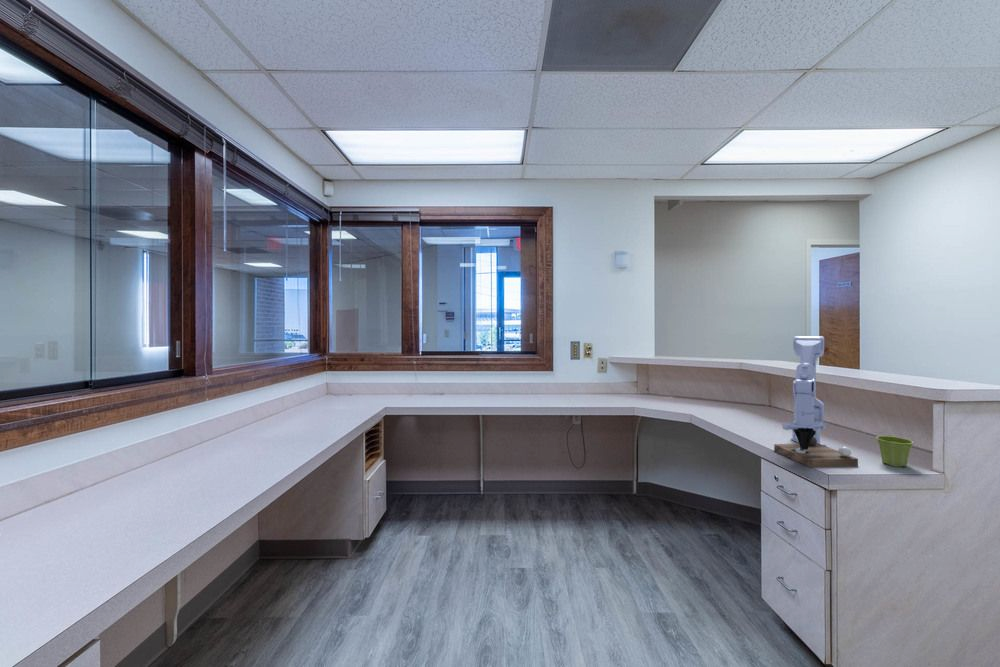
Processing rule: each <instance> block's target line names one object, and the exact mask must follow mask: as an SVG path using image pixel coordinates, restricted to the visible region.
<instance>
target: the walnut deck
mask: <svg viewBox="0 0 1000 667" xmlns="http://www.w3.org/2000/svg"><path fill="white" fill-rule="evenodd" d="M773 446H774V447H773V448H774V449H773V451H774V450H775V451H774V452H776V451H777V453H778V452H779V454H781V453H782V454H781V455H783V454H784V455H783V456H785V455H786V456H785V457H787V456H788V457H787V458H789V457H790V458H789V459H791V460H793V461H795V462H797V463H799V464H802V465H804V466H806V467H808V468H823V467H827V468H829V467H832V468H833V467H857V466H859V459H858V458H857V457H854V456H851V455H850V456H848V457H844V456H841V455H840V454H839V452H838V449H837V450H836V449H834V448H832V447H828V446H827V445H821V444H819V443H816V444H815V445H813V446H811V445H809V447H808V449H804V450H805V451H806V453H796V452H795V450H796V449H797V448H800V444H799V443H775V444H773Z"/></svg>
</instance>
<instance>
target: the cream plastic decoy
mask: <svg viewBox="0 0 1000 667" xmlns="http://www.w3.org/2000/svg"><path fill="white" fill-rule="evenodd" d="M837 451H838V452H839V454H840V455H841V456H844V457H848V456H851V455H852V451H851V448H850V447H848V446H839V448H838V449H837Z"/></svg>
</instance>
